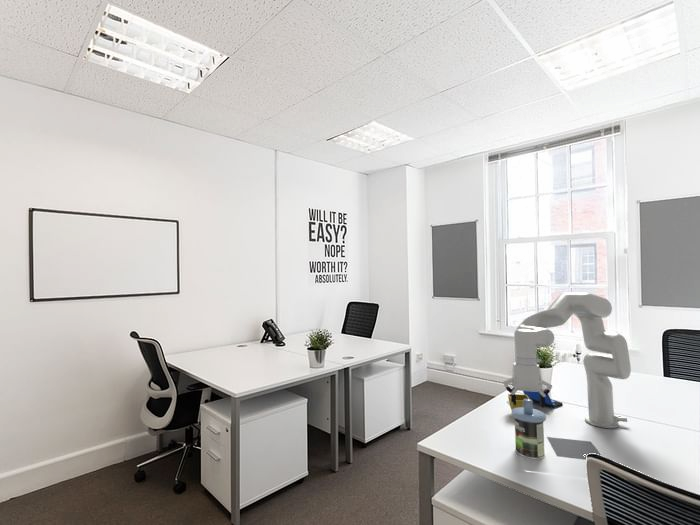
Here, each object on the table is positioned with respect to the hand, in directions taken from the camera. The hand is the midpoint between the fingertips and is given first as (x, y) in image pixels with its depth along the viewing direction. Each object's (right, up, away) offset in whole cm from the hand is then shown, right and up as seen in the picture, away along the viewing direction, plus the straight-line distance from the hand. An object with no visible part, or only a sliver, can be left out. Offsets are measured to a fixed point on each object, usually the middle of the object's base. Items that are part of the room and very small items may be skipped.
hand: (528, 405), depth 136 cm
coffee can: (0, -19, -1) cm, 18 cm away
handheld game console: (+33, -20, +49) cm, 63 cm away
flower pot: (+14, -19, +34) cm, 41 cm away
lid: (0, -4, 0) cm, 4 cm away
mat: (+19, -18, +1) cm, 26 cm away
